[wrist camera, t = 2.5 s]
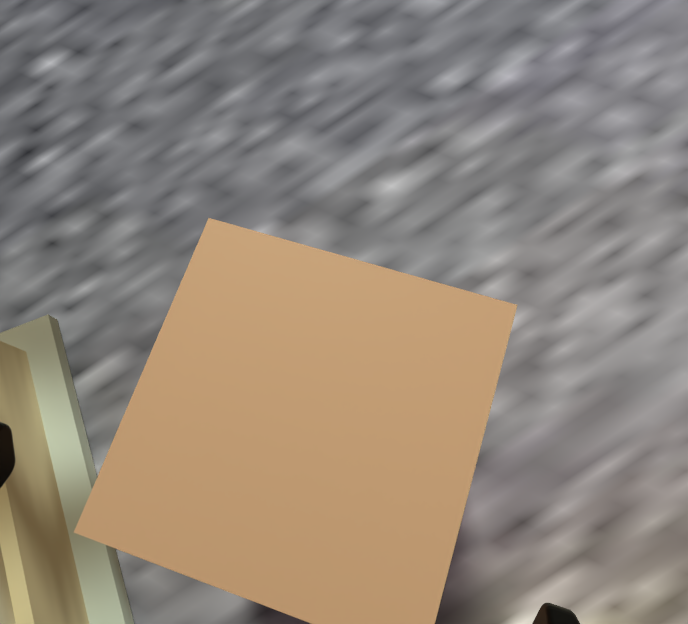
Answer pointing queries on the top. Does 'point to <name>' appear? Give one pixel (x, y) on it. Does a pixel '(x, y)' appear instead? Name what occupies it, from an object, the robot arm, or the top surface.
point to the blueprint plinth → (49, 493)
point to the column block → (304, 431)
